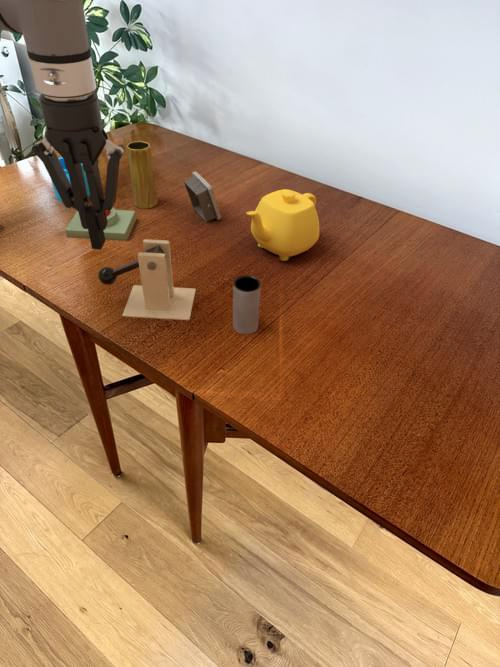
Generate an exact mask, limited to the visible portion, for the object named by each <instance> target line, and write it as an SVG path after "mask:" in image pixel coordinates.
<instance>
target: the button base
mask: <svg viewBox="0 0 500 667" xmlns="http://www.w3.org/2000/svg"><path fill="white" fill-rule="evenodd" d="M106 217H107V222H108V223H107V226H106V228H105V230H104V235H105V241H120V242H121V241H122V242H128V240H129V238H130V235H131V232H132V230H133V228H134V225H135V224H136V221H137V214H136V210H126V209H115V208H114V206H113V207H112V209H111V210H109V215H108V216H106ZM64 231H65V235H66V238H68V239H86V240H90V237H89V232H88V229H83V227H82V225H81V220H80V216H79V212H78V211H77V210H76V212H75V214H74V216H73V217H72V219H71V221H69V223H68V225H67V226H66V228H65V230H64Z"/></svg>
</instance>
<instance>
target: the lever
mask: <svg viewBox="0 0 500 667" xmlns="http://www.w3.org/2000/svg"><path fill="white" fill-rule="evenodd" d="M145 253H163V254H165V253H164V251H163V250H162V249H161V247H160V246H159V245H158V246H156V247H153V248H151V249H148V250H146V251H145ZM165 256H166V254H165ZM136 269H140V268H139V262H138V259H136V260H133V261H130V262H128V263H126V264H123V265H120V266H119V267H116V268H113V267H111V266H104V267H101V268H100V269H99V270H98V273H97V278H98V280H99V282H100V283H101V284H103V285H105V286H110V285H113V284H114V283H115V282H116V281H117V278H118V277H119V276H121V275H123V274H126V273H129V272H131V271H134V270H136Z"/></svg>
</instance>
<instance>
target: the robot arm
mask: <svg viewBox="0 0 500 667" xmlns="http://www.w3.org/2000/svg"><path fill="white" fill-rule="evenodd" d="M86 22H87V21H86V16H85V9H84V2H83V0H0V31H5V32H9V33H14V34H19V35H22V36H23V39H24V43H25V47H26V53H27V57H28V59H29V63H30V67H31V71H32V72H31V73H32V76H33V81H34V84H35V88H36V91H37V92H38V93H39V94H40V95H39V97H38V101H39V106H40V109H41V113H42V117H43V118H42V119H43V122H44V124H45V128H46V129H45V133H44V138H43V139H42V138H41V139H39V140H38V141H37V142H36V143H34V145H33V146H32V149H31V150H32V152H33V153H34V154H35V155H36V156H37V157H38V159H39V160H40V161H41V162H42V164H43V165H44V167H45V169H46V172H47V173H48V174H47V175H48V176H49V178H50V181H51V180H52V181H51V183H52V182H53V183H54V185H55V187H56V189H57V191H58V193H59V195H60V197H61V199H62V201H63V202H62V204H63V205H64V207H65V208H67V209H71V208H73V209H75V210H76V212H77V211H78V212H79V216H80V220H81V225H82V227H83V229H88V232H89V237H90V239H89V241H90V245H91V249H92V250H102V249H103V247H104V245H105V243H106V240H105V235H104V230H105V228H106V226H107V223H108V222H107V217H106V211H105V210H111V209H112V207H113V208H114V205H115V204H116V202H117V193H118V192H117V191H118V182H119V173H120V172H119V171H120V164H121V163H120V162H121V159H122V158H123V155H124V154H125V151H126V147H125V146H124V145H123V144H118V145H117V144H116V143H114V142H112V141H111V140H110V139H109V136H108V134H107V132H106V131H105V128H104V126H103V120H102V113H101V107H100V100H99V95H98V94H97V93H96V92H95V90H96V89H97V83H96V82H97V81H96V76H95V71H94V65H93V60H92V59H93V58H92V55H91V54H92V53H91V48H90V47H91V46H90V42H89V36H88V29H87V23H86ZM104 149H105V152H106V153H105V156H106V158H107V159H106V160H108V162H107V164H106V165H107V167H106V176H105V190H104V189H103V184H102V179H101V172H100V168H99V164H100V162H99V157H100V156H101V154H102V152H103V151H104ZM56 152H57V153H58V154H59V156H61V157H62V158H63V159H64V162H65V167H66V170H68V173H69V178H70V182H71V184H70V182H69V180H68V178H67V176H66V174H65V172H64V169H63V167H62V165H61V163H60V161H59V159H58V158H59V157H58V155H57V154H56ZM81 163H82V164H83V169H84V171H85V173H86V177H87V182H88V187H89V192H90V196H89V197H88V195H87V191H86V186H85V181H84V176H83V171H82V166H81ZM89 198H90V199H89ZM90 202H91V204H90ZM89 204H90V205H89Z"/></svg>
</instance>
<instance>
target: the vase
mask: <svg viewBox="0 0 500 667" xmlns="http://www.w3.org/2000/svg"><path fill="white" fill-rule="evenodd" d="M126 153H127V159H128V167H129V174H130V180H131V188H132V191H131V192H132V205H133V206H134V207H135V208H137V209H142V210H148V209H152V208H154V207H156V206H157V205H158V204H159V199H158V195H157V189H156V183H155V174H154V166H153V159H152V150H151V144H150V143H149V142H147V141H143V140H134V141H131V142H129V143H127V144H126Z"/></svg>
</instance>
